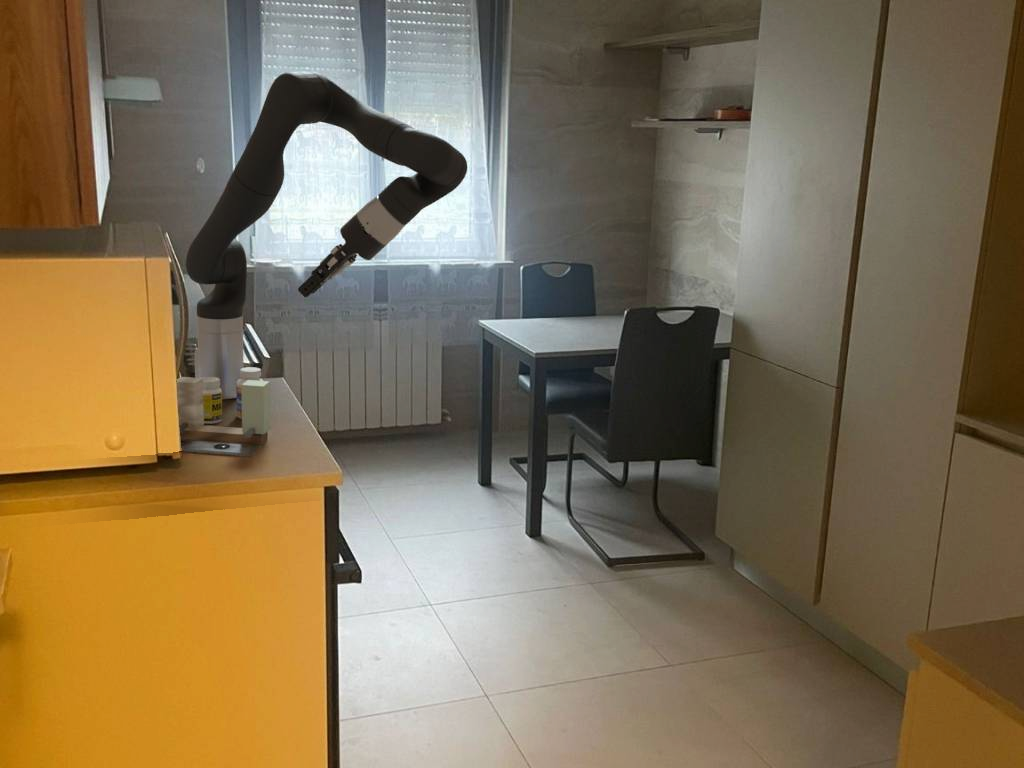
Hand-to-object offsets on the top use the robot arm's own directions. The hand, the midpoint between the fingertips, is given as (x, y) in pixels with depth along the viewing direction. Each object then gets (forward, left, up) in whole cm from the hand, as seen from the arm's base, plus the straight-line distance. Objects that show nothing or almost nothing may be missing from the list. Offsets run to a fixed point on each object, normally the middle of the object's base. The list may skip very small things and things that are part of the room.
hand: (305, 291), depth 172 cm
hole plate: (-10, -14, -28) cm, 33 cm away
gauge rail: (-11, -12, -28) cm, 32 cm away
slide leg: (-5, -8, -26) cm, 28 cm away
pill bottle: (-18, +5, -28) cm, 34 cm away
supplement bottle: (-22, -2, -28) cm, 36 cm away
